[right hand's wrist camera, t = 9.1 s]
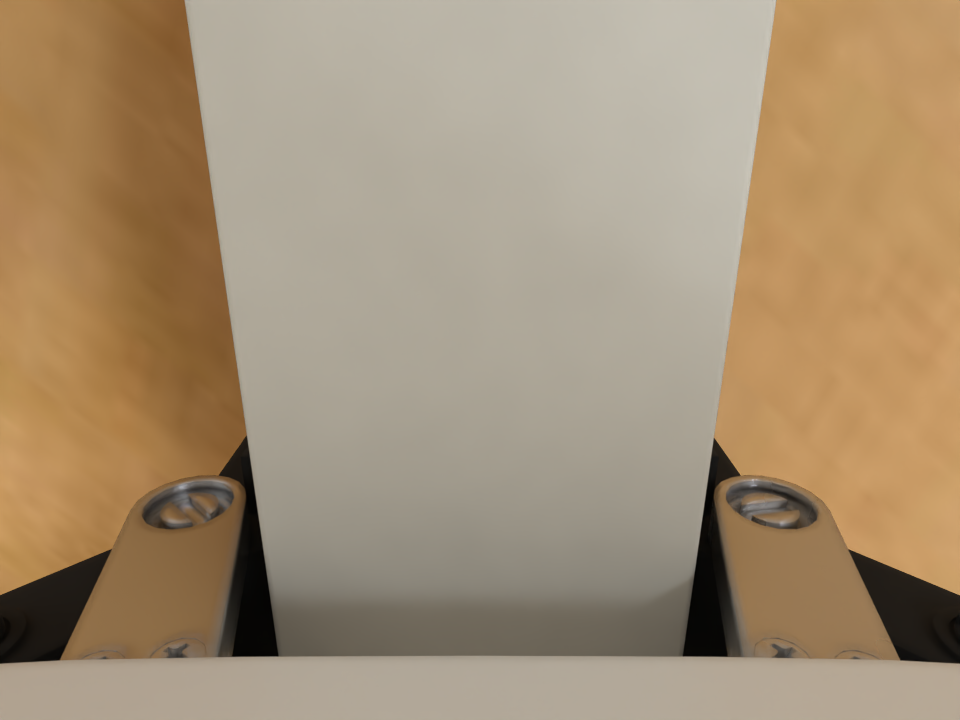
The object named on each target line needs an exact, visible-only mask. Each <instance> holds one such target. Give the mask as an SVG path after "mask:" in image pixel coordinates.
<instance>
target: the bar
mask: <svg viewBox="0 0 960 720" xmlns="http://www.w3.org/2000/svg"><path fill="white" fill-rule="evenodd" d="M775 6H776V0H185V7H186V14H187V21H188V27H189V34H190V41H191V48H192V55H193V62H194V69H195V76H196V83H197V90H198V97H199V104H200V111H201V118H202V125H203V132H204V139H205V146H206V153H207V160H208V167H209V174H210V181H211V188H212V195H213V202H214V209H215V216H216V223H217V230H218V237H219V244H220V251H221V258H222V265H223V272H224V279H225V286H226V292H227V299H228V306H229V313H230V320H231V327H232V334H233V341H234V348H235V355H236V362H237V369H238V376H239V383H240V390H241V397H242V404H243V411H244V418H245V425H246V432H247V439H248V446H249V453H250V460H251V467H252V474H253V481H254V488H255V495H256V502H257V509H258V516H259V523H260V530H261V537H262V544H263V551H264V558H265V564H266V571H267V578H268V585H269V592H270V599H271V606H272V613H273V620H274V627H275V634H276V641H277V648H278V655H279V657H308V656H652V657H683V650H684V643H685V636H686V629H687V622H688V615H689V608H690V601H691V594H692V587H693V580H694V573H695V566H696V559H697V552H698V545H699V538H700V531H701V524H702V517H703V510H704V503H705V496H706V489H707V482H708V475H709V468H710V461H711V454H712V447H713V440H714V433H715V426H716V419H717V412H718V405H719V398H720V391H721V384H722V377H723V370H724V363H725V356H726V349H727V342H728V335H729V328H730V321H731V314H732V307H733V300H734V293H735V286H736V279H737V272H738V265H739V258H740V251H741V244H742V237H743V230H744V223H745V216H746V209H747V202H748V195H749V188H750V181H751V174H752V167H753V160H754V153H755V146H756V139H757V132H758V125H759V118H760V111H761V104H762V97H763V90H764V83H765V76H766V69H767V62H768V55H769V48H770V41H771V34H772V27H773V20H774V13H775Z"/></svg>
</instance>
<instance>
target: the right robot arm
mask: <svg viewBox="0 0 960 720" xmlns="http://www.w3.org/2000/svg"><path fill="white" fill-rule="evenodd" d="M0 720H960V595H957V594H955V593H952V592H950V591H948V590H945V589H943V588H940V587H938V586H936V585H933V584H931V583H928V582H926V581H924V580H921V579H919V578H916V577H914V576H911V575H909V574H907V573H904V572H902V571H899V570H897V569H895V568H892V567H890V566H887V565H885V564H883V563H880V562H878V561H875V560H873V559H870V558H868V557H866V556H863V555H861V554H858V553H856V552H854V551H851V550H849V549H848V548H847V546H846V544H845V542H844V540H843V538H842V536H841V533H840V531H839V529H838V527H837V525H836V523H835V521H834V519H833V516H832V514H831V512H830V510H829V509H828V508H827V506H826V505H825V504H824V502H823V501H822V500H821V499H819V498H818V497H817V496H815V495H814V494H813V493H811V492H810V491H808V490H806V489H804V488H802V487H800V486H798V485H796V484H793V483H790V482H787V481H784V480H781V479H776V478H771V477H765V476H753V475H744V476H741V475H740V474H739V473H738V471H737V470H736V468H735V467H734V465H733V464H732V463H731V461H730V460H729V458H728V457H727V455H726V454H725V453H724V451H723V450H722V448H721V447H720V446H719V444H718V443H717V441H716V440H715V438H714V440H713V447H712V454H711V461H710V468H709V475H708V482H707V489H706V496H705V503H704V510H703V517H702V524H701V531H700V538H699V545H698V552H697V559H696V566H695V573H694V580H693V587H692V594H691V601H690V608H689V615H688V622H687V629H686V636H685V643H684V650H683V657H652V656H308V657H279V655H278V648H277V641H276V634H275V627H274V620H273V613H272V606H271V599H270V592H269V585H268V578H267V571H266V564H265V558H264V551H263V544H262V537H261V530H260V523H259V516H258V509H257V502H256V495H255V488H254V481H253V474H252V467H251V460H250V453H249V446H248V439H247V436H246V437H245V439H244V440H243V442H242V443H241V445H240V446H239V447H238V449H237V450H236V452H235V453H234V454H233V456H232V457H231V459H230V460H229V462H228V463H227V464H226V466H225V467H224V469H223V470H222V472H221V473H220V474H219V476H216V475H207V476H195V477H189V478H184V479H179V480H176V481H173V482H170V483H167V484H164V485H162V486H160V487H158V488H156V489H154V490H152V491H150V492H149V493H147V494H146V495H145V496H143V497H142V498H141V499H139V500H138V501H137V502H136V504H135V505H134V506H133V508H132V509H131V510H130V512H129V514H128V516H127V519H126V521H125V523H124V525H123V527H122V529H121V531H120V533H119V536H118V538H117V540H116V542H115V544H114V546H113V548H112V549H111V550H108V551H106V552H103V553H101V554H99V555H96V556H94V557H91V558H89V559H87V560H84V561H82V562H79V563H77V564H75V565H72V566H70V567H67V568H65V569H62V570H60V571H58V572H55V573H53V574H50V575H48V576H46V577H43V578H41V579H38V580H36V581H34V582H31V583H29V584H26V585H24V586H21V587H19V588H17V589H14V590H12V591H9V592H7V593H5V594H2V595H0Z"/></svg>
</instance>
